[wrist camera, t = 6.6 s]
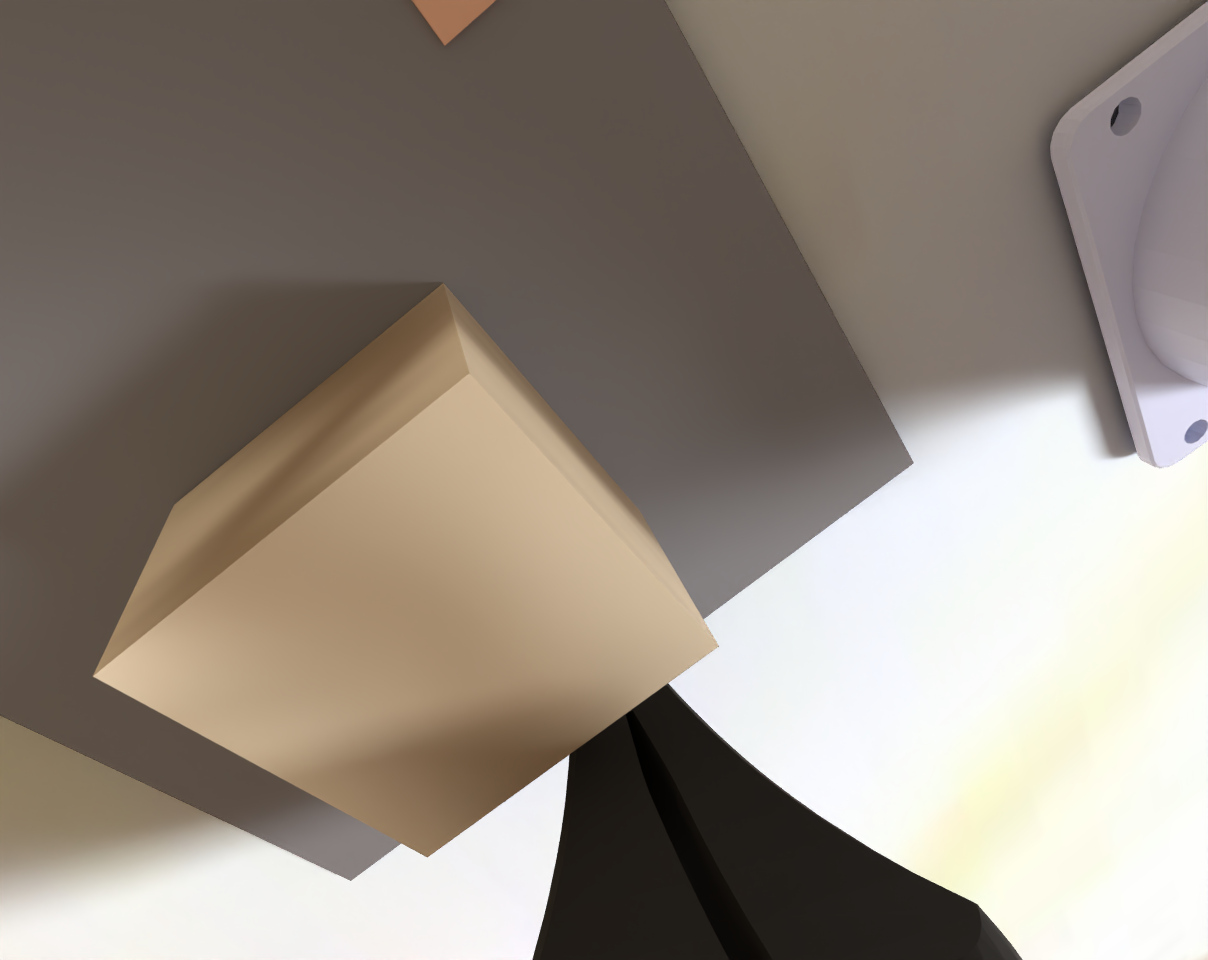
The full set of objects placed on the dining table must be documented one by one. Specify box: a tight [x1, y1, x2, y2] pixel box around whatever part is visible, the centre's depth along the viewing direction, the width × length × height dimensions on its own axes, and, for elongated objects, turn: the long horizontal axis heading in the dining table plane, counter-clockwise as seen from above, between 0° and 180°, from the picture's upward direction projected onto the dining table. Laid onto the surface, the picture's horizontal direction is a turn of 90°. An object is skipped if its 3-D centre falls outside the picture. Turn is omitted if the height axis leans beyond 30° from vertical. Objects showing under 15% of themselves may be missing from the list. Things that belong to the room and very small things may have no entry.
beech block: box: [93, 283, 719, 857], centre depth 10 cm, size 5×5×4 cm
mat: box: [0, 0, 913, 881], centre depth 10 cm, size 14×19×1 cm
